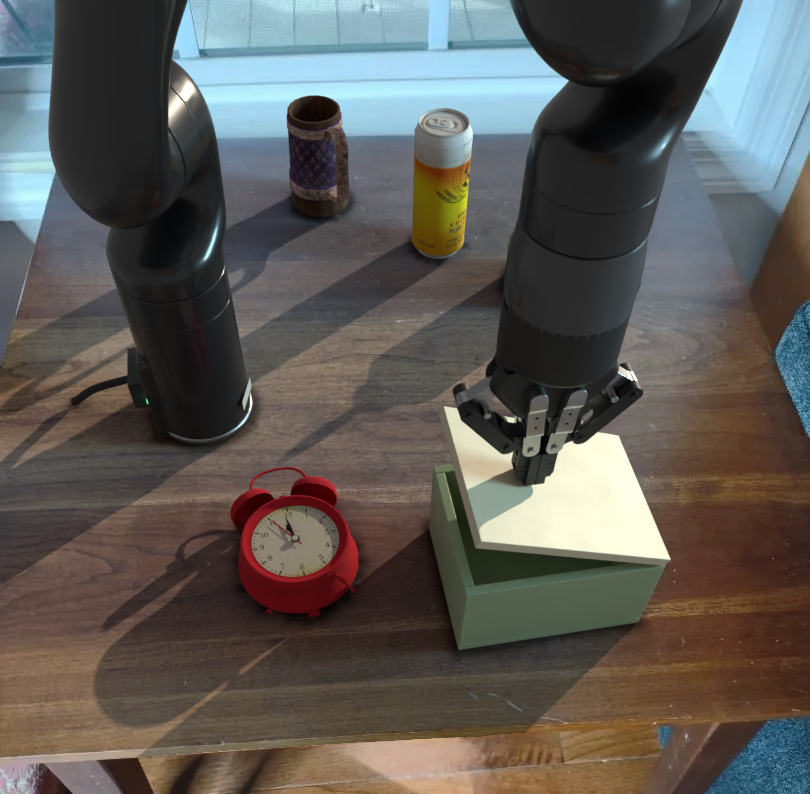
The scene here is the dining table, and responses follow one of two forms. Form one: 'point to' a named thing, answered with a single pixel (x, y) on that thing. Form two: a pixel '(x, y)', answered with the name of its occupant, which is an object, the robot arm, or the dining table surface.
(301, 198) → the mug
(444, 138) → the beer can
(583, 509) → the lid
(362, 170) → the dining table surface
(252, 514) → the alarm clock
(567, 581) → the chest
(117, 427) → the dining table surface
